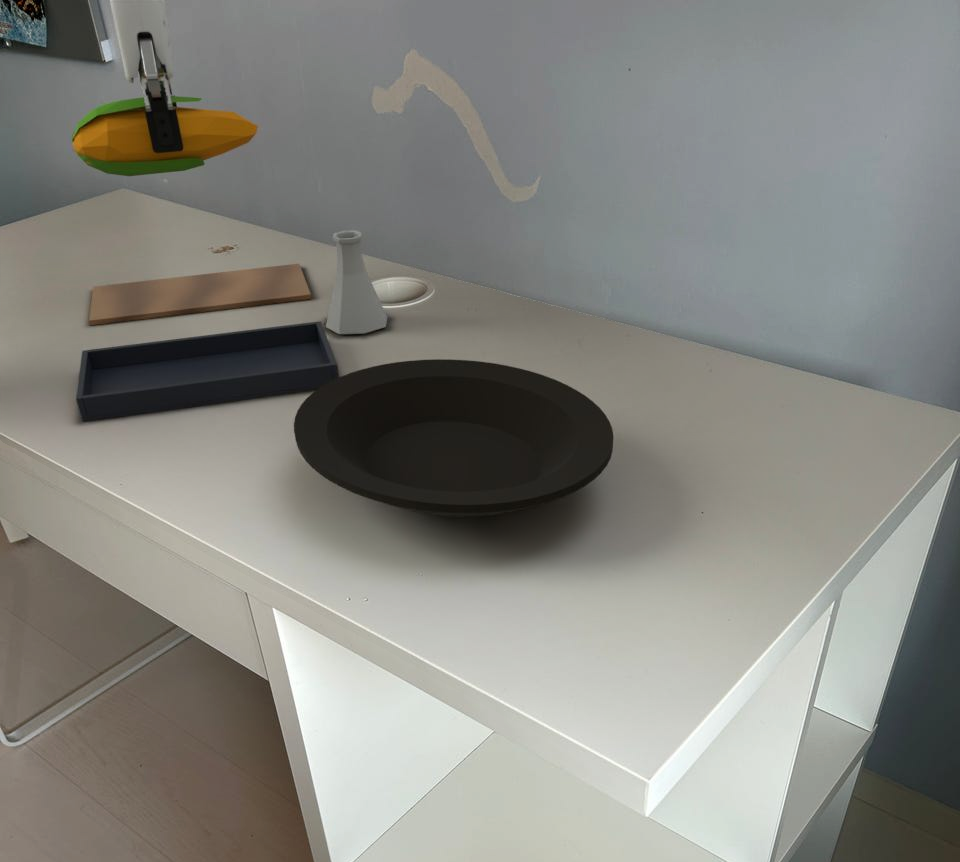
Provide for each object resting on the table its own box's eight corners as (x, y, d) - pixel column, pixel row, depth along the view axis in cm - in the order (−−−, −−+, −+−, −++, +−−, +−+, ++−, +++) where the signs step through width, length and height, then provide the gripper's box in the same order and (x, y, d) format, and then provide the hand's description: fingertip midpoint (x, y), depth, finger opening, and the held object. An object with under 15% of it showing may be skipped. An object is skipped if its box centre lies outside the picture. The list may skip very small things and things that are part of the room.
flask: (319, 318, 115) (307, 229, 108) (379, 309, 116) (371, 221, 110) (333, 340, 109) (321, 248, 103) (395, 330, 111) (388, 239, 105)
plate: (241, 484, 85) (229, 424, 82) (435, 391, 98) (432, 336, 95) (479, 611, 70) (476, 546, 66) (669, 481, 83) (676, 421, 80)
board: (90, 325, 115) (88, 320, 115) (94, 291, 124) (93, 286, 124) (311, 299, 120) (310, 294, 119) (299, 267, 129) (299, 263, 128)
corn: (60, 94, 106) (246, 78, 111) (80, 169, 111) (256, 150, 116) (62, 113, 101) (257, 95, 106) (83, 190, 106) (267, 170, 111)
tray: (82, 421, 95) (75, 398, 94) (88, 372, 105) (82, 350, 103) (339, 386, 100) (337, 364, 98) (323, 342, 109) (320, 320, 108)
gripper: (93, -56, 104) (135, 130, 115) (84, -44, 91) (132, 165, 102) (165, -60, 105) (200, 124, 116) (167, -48, 92) (205, 158, 103)
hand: (168, 142), depth 109 cm, fingers closed on corn, 6 cm apart
